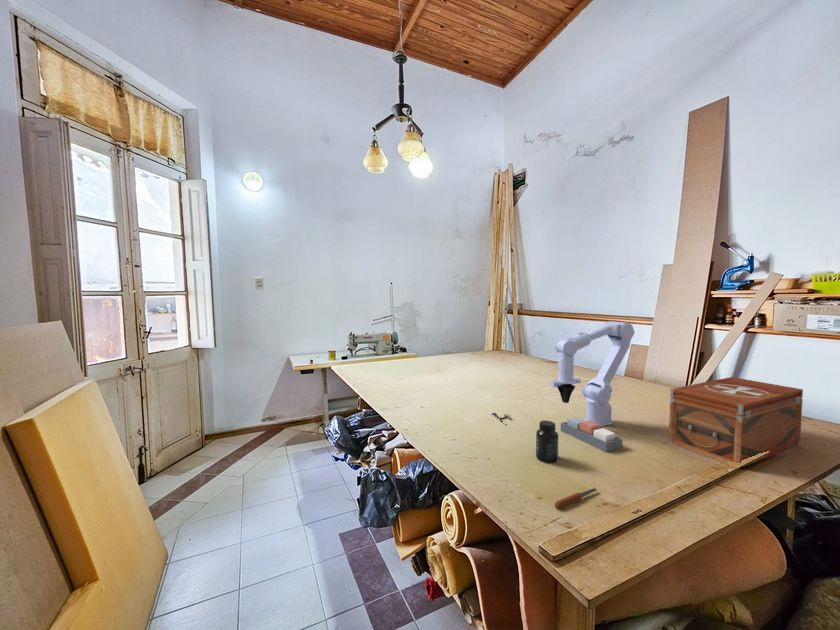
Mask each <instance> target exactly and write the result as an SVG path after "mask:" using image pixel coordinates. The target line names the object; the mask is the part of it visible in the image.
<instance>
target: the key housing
mask: <svg viewBox="0 0 840 630" xmlns="http://www.w3.org/2000/svg"><path fill="white" fill-rule="evenodd" d="M560 432H562V433H565V434H567V435H568V434H569V436H570V437H573V438H575V439H576V440H579V441H581V442H584V443H585V444H588V445H590V446H592V447H594V448H596V449H598V450H601V451H603V452H604V453H609V452H612V451H616V450H619V449H623V438H621V437H618V436H616V435H615V440H611V441H607V442H605V441H603V440H601V439H598V438H596V437H594V436H593V434H589V433H586V432H584V431H582V430H580V428H578V429H576V428H573V427H571V426H569V425H567V421H563V422H560Z"/></svg>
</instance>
